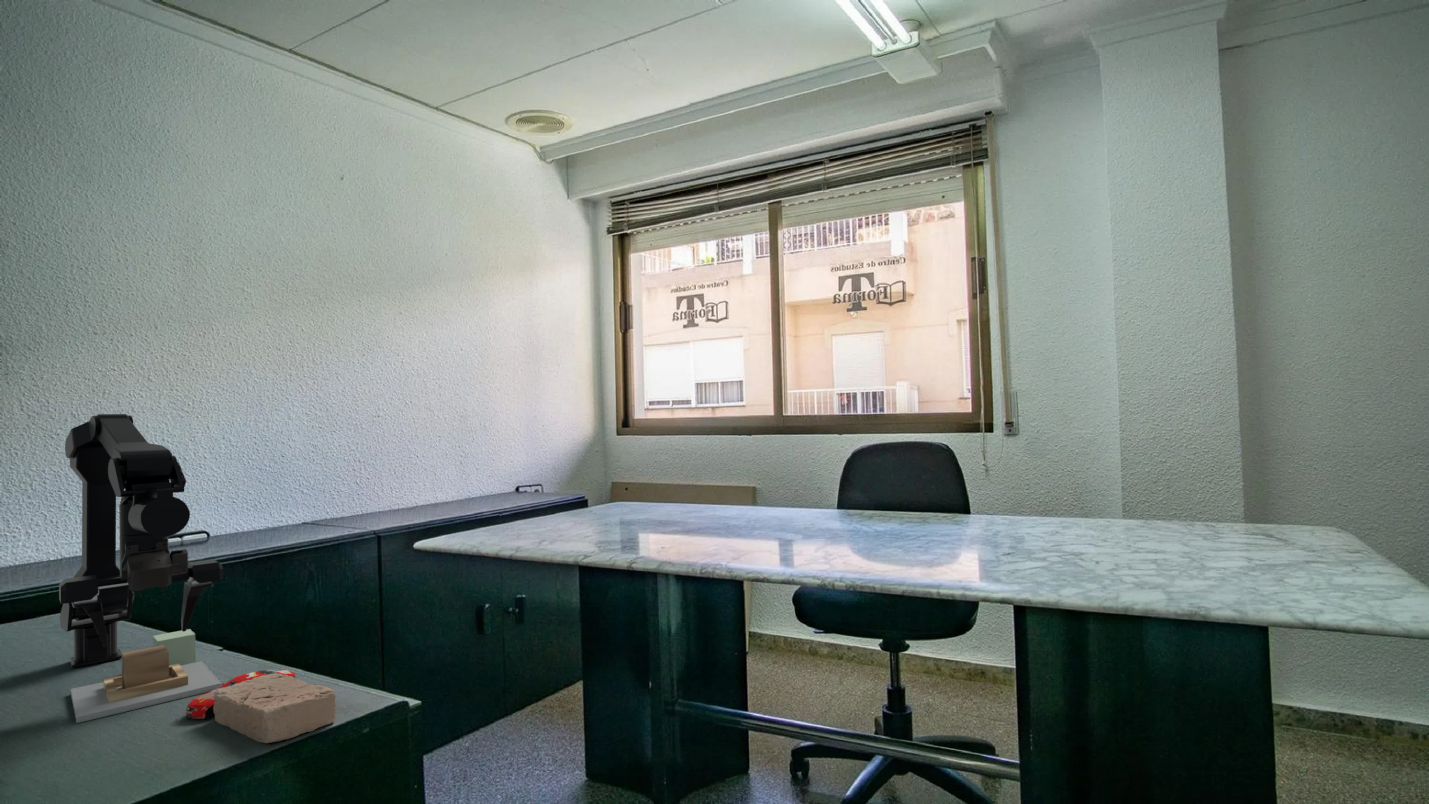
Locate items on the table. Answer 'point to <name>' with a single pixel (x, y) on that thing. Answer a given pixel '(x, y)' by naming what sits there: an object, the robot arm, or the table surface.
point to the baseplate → (141, 692)
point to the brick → (274, 707)
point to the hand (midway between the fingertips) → (145, 638)
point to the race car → (206, 702)
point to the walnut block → (145, 666)
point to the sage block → (178, 646)
